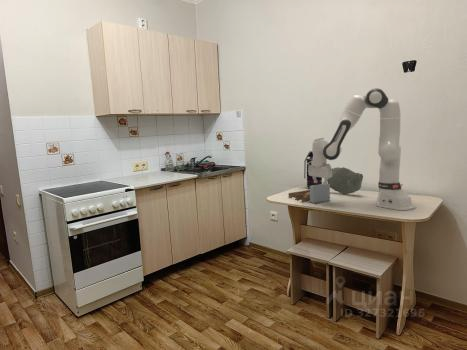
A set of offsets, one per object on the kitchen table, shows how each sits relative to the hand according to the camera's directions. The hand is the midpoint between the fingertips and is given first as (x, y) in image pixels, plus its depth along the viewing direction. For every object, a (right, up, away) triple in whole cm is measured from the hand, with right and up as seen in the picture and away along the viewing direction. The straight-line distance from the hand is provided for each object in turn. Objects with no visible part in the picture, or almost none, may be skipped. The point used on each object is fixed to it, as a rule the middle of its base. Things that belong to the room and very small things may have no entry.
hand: (320, 183), depth 218 cm
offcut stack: (-5, -11, +10) cm, 16 cm away
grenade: (+7, -5, +48) cm, 49 cm away
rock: (+23, -9, +19) cm, 31 cm away
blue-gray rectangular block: (0, -12, +2) cm, 12 cm away
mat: (0, -12, +2) cm, 12 cm away
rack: (-6, -11, +13) cm, 18 cm away
